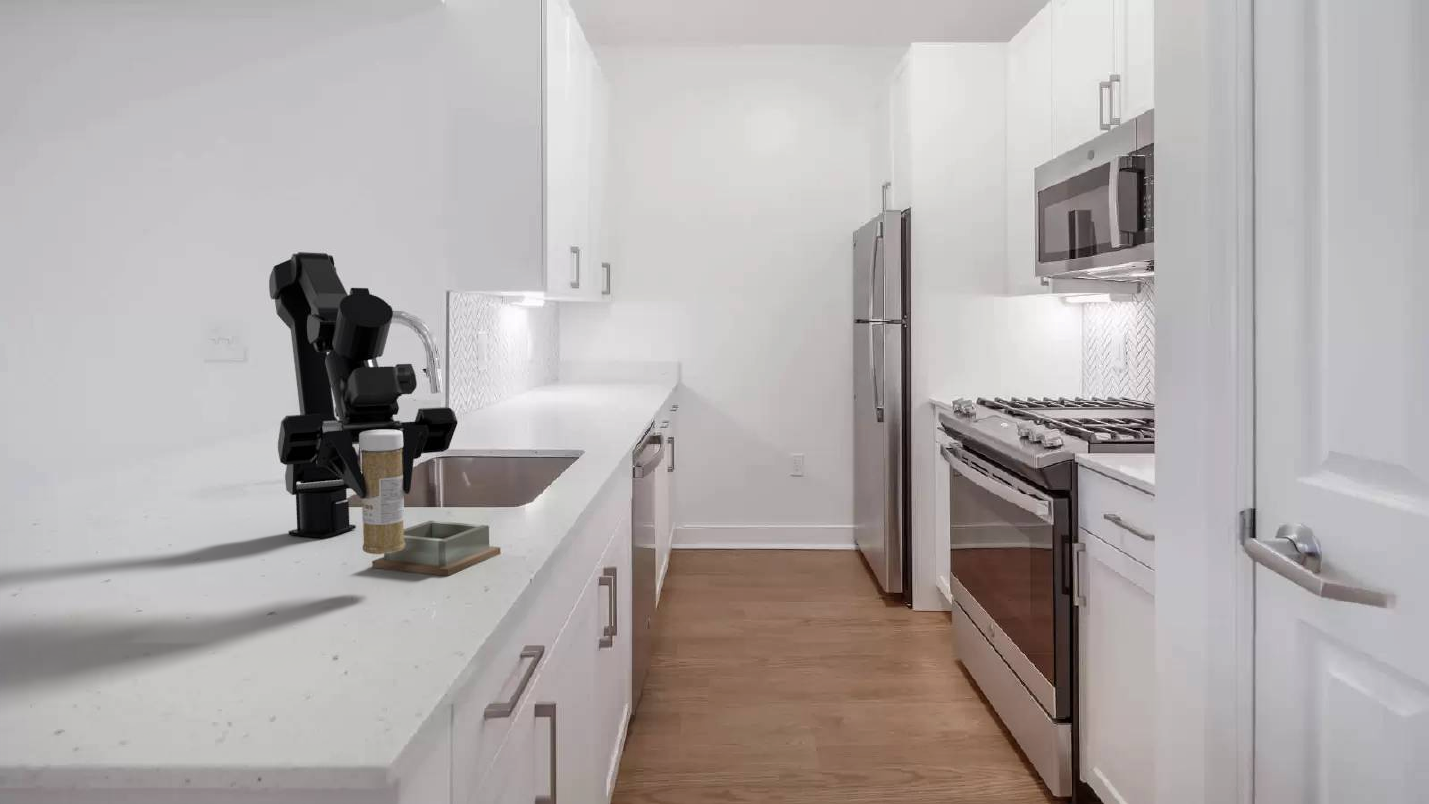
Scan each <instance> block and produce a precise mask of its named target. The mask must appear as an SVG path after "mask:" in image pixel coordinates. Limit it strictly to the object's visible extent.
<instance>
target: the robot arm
mask: <svg viewBox="0 0 1429 804" xmlns="http://www.w3.org/2000/svg"><path fill="white" fill-rule="evenodd" d="M268 279H269V280H268V289H269V297H270V299H271V300H274V303H275V304H274V305H275V309H276V314H277V316H278V317H279V318H280V319H281V321H282V322H283V323H284V324H285V326H287V328H288V329H290V336H291V344H292V355H293V362H294V370H295V379H296V380H295V381H296V388H297V396H298V406H299V414H294V415H293V414H292V415H290V414H289V415H285V417H284V418H283V419H282V420H281V421H280V428H279V433H278V441H277V453H278V458H279V461H280V462H279V463H281V464H284V465H285V467H286V468H285V473H284V474H285V475H284V479H285V490H286V491H287V492H288V494H290V495H291V496H295V505H296V507H295V509H296V528H295V529H291V530H288V535H290V536H300V537H310V538H319V539H324V538H328V537H332V536H335V535H338V534H342V533H345V532H348V531H351V530H355V529H356V528H357V526H356V524H350V505H349V504H350V503H349V502H350V501H349V499H347V498H348V496H347V493H348V492H347V490H348V489H349V490H350V489H351V490H352V491H353V492H354V493H355V494H356V495H357V496H358V497H359V498H360V500H361V499H364V498H365V497H366V487H365V482H364V479H363V476H362V469H361V467H360V461H361V459H360V456H359V455H358V453H357V450H356V448H355V446H353V445H359V434H360V433H361V432H363V431H369V430H379V429H391V430H399V431H402V433H403V447H402V448H401V449H403V451H402V473H403V492H404V494H405V495H408V494H410V491H411V487H412V478H413V469H414V467H413V466H414V460H417V459H419V458H421V457H422V454H432V453H443V452H445V451H447V450H448V449H449V448H450V445H451V442H452V439H453V437H454V433H455V431H456V429H457V426H458V423H459V422H458V419H457V415H456V413H455V411H454V410H453V409H452V408H451V407H448V406H443V407H442V406H441V407H424V408H423V407H422V408H421V407H420V408H418V410H417V413H416V416H415V421H402V420H394V415H398V413H399V410H400V406H399V404H398V399H399V398H400V397H402V396H403V395H412V394H413V393H414V392H415V390H416V389H417V377H416V376H417V375H416V373H415V369H414V367H413V364H412V363H398V364H396V365H395V366H393V365H392V366H390V365H389V366H379V364H378V359H377V358H380V357H382V356H383V354H384V351H385V347H386V344H387V339H388V336H389V332H390V327H391V324H392V323H391V322H392V320H393V315H394V313H393V312H394V311H393V310H394V309H393V307H392V306H391V305H389V303H388V302H387V301H385V300H384V299H383V298H380V297H378V296H377V295H374V294H371V293H370V290H369V288H368V287H351V288H350V289H349V294H348V293H347V290H346V288H345V287H344V285H343V283H342V282H343V281H341V278H340V277H339V275H338V273H337V267H336V266H335V261H334V256H333V255H329V254H328V253H327V252H326V253H324V252H303V251H302V252H301V251H299V252H297V253H292V255H291V257H290V259H287V260H286V261H283V262H280V263H278V264H276V265H274V266H273V267H272V270H271V272H270V275H269V278H268ZM334 405H335V407H334ZM299 482H300V483H299ZM298 483H299V484H298Z"/></svg>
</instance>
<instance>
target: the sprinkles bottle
mask: <svg viewBox="0 0 1429 804" xmlns="http://www.w3.org/2000/svg"><path fill="white" fill-rule="evenodd" d="M358 446H359V447H358V448H359V450H360V454H361V473H362V476H363V479H364V482H365V487H366V497H365V498H364V499H362V501H361V503H362V508H361V510H362V511H361V512H362V513H361V514H362V527H363V528H362V533H363V534H362V535H363V543H362V544H363V545H362V550H363V551H362V552H365V553H367V554H371V555H384V554H385V553H392V552H397V551H400V550H402V549H403V548H404V547H405V542H404V529H405V528H404V527H405V526H404V521H405V499H404V498H405V497H404V496H405V495H404V494H405V492H404V490H403V473H402V451H403V449H401V448H402V447H403V433H402V431H399V430H391V429H379V430H369V431H363V432H361V433H360V434H359V444H358Z"/></svg>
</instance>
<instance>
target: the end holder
mask: <svg viewBox="0 0 1429 804" xmlns="http://www.w3.org/2000/svg"><path fill="white" fill-rule="evenodd" d="M404 542H405V547H404V548H403V549H402V550H400V551H397V552H392V553H385V554H383V556H382V557H380V558H376V559H375V560H372V561H371V564H372V565H371V567H372V568H373V569H374V568H375V569H383V570H391V571H399V572H409V573H418V574H429V575H436V576H444V577H448V576H452V575H453V574H456V573H458V572H461V571H463V570H466V569H467V568H470V567H472V566H474V565H477V564H479V563H481V562H484V561H487V560H488V559H491V558H493V557H496V556H498V555H500V554H501V547H500V546H493V545H490V525H488V524H487V525H486V524H474V523H466V522H465V523H463V522H453V521H452V522H451V521H442V520H440V521H439V520H428V521H424V522H422V523H419V524H416V525H415V524H414V525H413V526H409V527H407V528H404Z"/></svg>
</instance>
